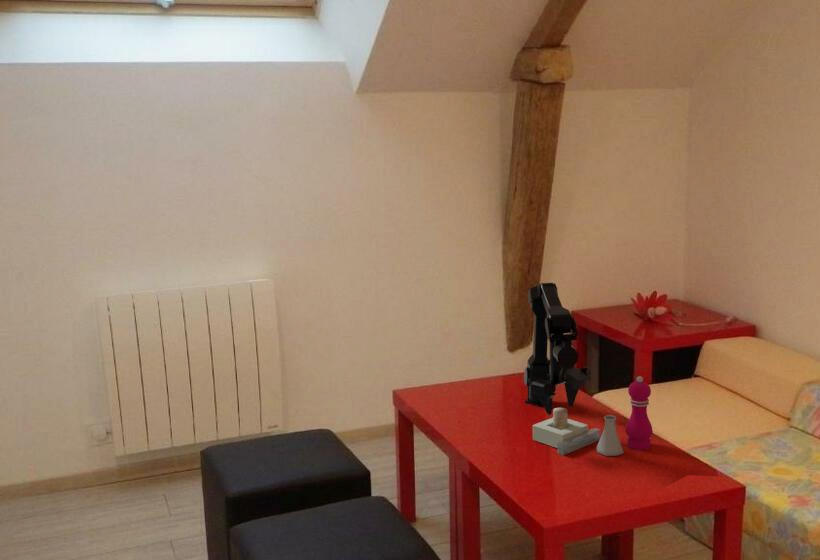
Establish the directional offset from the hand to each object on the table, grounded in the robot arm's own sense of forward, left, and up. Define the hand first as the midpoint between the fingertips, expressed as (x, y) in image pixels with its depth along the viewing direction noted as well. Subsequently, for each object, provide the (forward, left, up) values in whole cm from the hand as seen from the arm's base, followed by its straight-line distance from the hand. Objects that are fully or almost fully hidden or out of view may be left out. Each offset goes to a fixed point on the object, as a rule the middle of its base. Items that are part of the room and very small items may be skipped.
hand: (560, 410), depth 250 cm
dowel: (0, 0, -9) cm, 9 cm away
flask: (+15, +3, -9) cm, 18 cm away
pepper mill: (+18, +12, -9) cm, 23 cm away
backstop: (+7, 0, -9) cm, 11 cm away
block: (0, 0, -9) cm, 9 cm away
